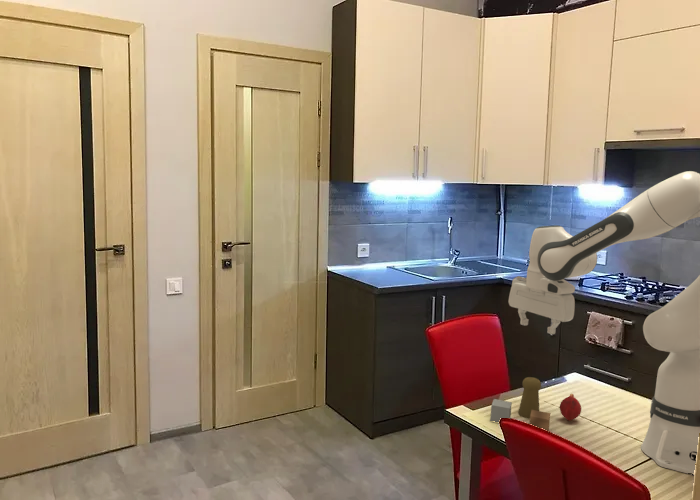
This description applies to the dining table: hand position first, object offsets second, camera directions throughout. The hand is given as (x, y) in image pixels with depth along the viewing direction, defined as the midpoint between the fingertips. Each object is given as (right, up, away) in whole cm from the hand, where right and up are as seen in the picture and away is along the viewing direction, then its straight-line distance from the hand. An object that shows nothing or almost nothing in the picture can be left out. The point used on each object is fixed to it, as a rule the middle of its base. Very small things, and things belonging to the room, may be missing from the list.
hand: (537, 329), depth 170 cm
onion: (+9, -27, +1) cm, 28 cm away
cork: (-1, -26, +4) cm, 26 cm away
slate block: (-11, -26, -1) cm, 28 cm away
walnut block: (-2, -27, -8) cm, 28 cm away
